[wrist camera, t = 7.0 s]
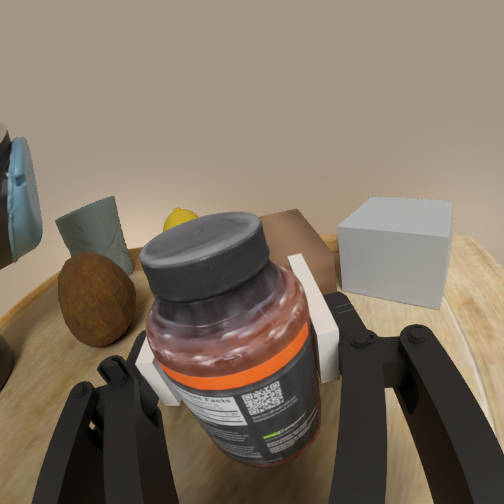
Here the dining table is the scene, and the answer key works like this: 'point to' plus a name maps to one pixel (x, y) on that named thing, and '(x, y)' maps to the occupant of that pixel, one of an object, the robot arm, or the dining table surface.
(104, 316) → the potato
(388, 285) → the grey block
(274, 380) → the supplement bottle
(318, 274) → the walnut block
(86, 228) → the grey green planter pot
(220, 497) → the dining table surface
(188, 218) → the lemon
